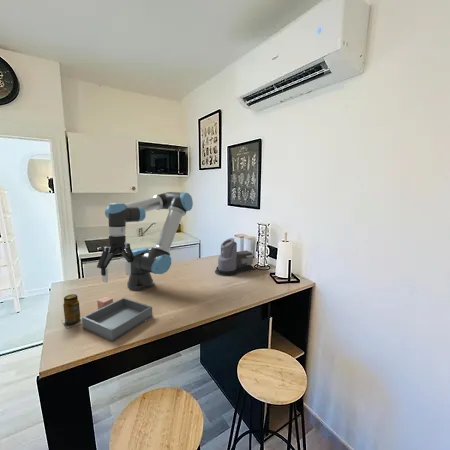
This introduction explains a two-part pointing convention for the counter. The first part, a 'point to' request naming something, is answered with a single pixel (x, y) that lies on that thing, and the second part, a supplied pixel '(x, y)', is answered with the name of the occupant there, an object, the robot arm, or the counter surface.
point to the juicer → (233, 259)
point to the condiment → (71, 311)
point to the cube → (104, 302)
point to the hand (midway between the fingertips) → (117, 278)
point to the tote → (117, 318)
